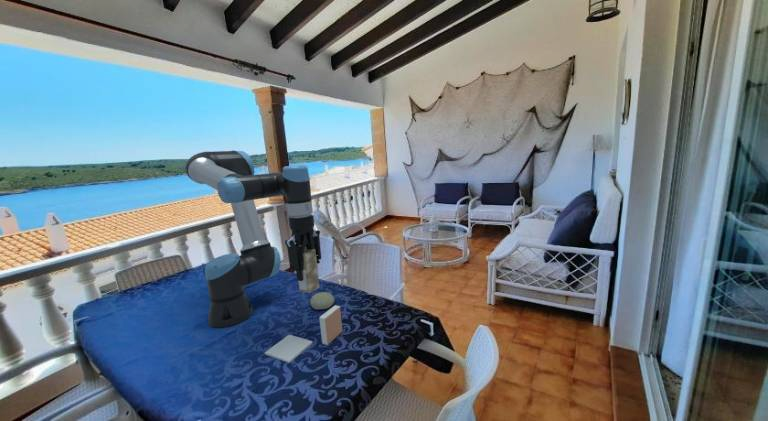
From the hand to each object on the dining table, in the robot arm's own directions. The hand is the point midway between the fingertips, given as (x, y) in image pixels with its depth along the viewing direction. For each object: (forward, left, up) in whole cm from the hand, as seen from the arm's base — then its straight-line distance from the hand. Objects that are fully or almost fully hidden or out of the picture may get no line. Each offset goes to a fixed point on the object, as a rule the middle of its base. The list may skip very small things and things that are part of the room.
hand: (309, 285), depth 97 cm
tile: (+7, 0, -17) cm, 18 cm away
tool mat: (-2, -10, -17) cm, 19 cm away
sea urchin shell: (-10, +16, -17) cm, 25 cm away
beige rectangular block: (0, 0, -1) cm, 1 cm away
